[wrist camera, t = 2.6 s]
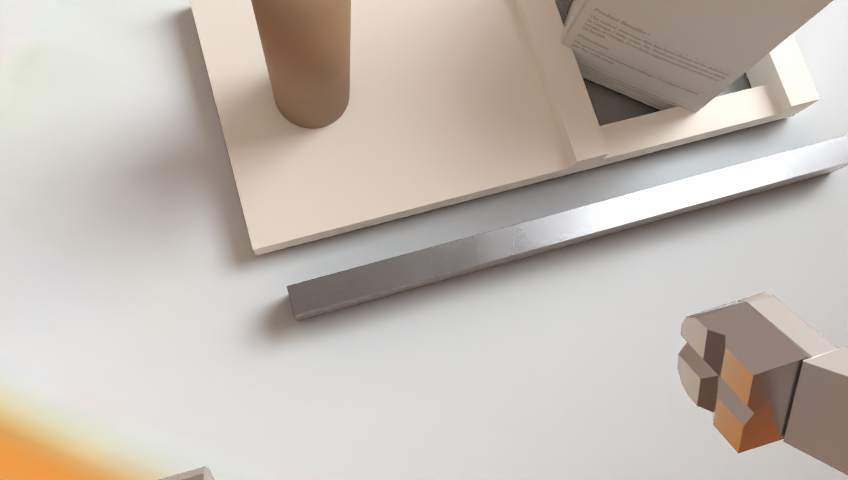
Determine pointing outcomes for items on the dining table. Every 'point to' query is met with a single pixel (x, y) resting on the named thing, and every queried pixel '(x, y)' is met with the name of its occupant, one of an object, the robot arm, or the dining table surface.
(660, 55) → the supplement box
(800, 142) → the dining table surface
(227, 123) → the board with brown peg
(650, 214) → the dark grey parallel rails
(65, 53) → the dining table surface
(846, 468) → the robot arm
